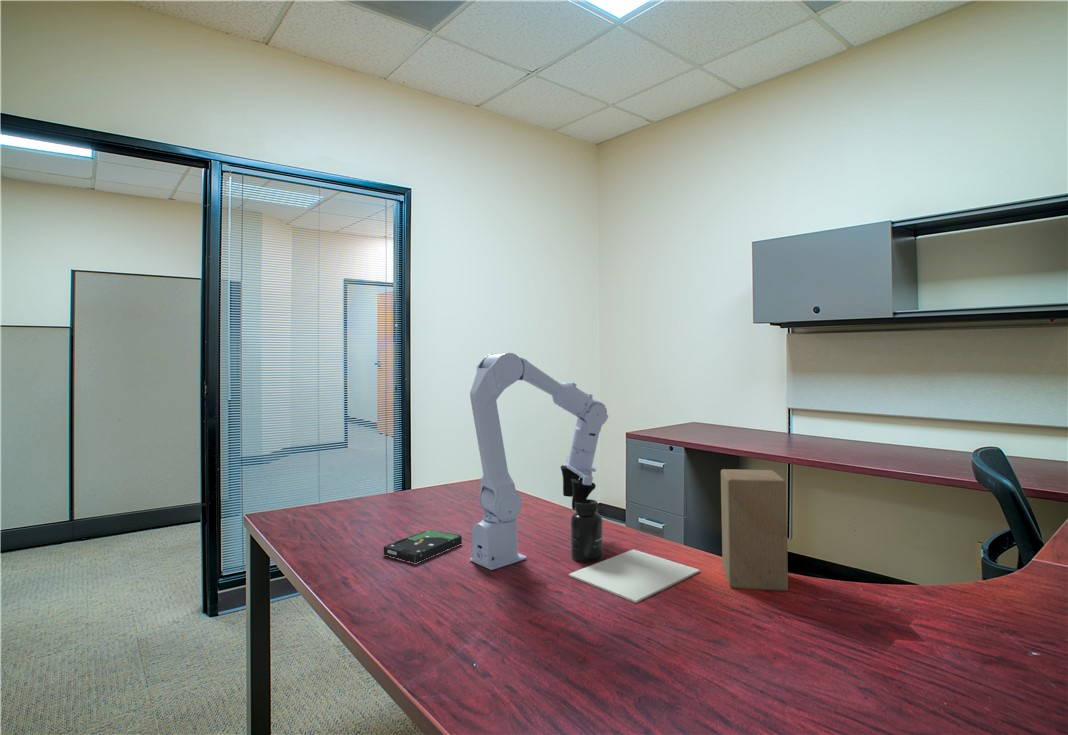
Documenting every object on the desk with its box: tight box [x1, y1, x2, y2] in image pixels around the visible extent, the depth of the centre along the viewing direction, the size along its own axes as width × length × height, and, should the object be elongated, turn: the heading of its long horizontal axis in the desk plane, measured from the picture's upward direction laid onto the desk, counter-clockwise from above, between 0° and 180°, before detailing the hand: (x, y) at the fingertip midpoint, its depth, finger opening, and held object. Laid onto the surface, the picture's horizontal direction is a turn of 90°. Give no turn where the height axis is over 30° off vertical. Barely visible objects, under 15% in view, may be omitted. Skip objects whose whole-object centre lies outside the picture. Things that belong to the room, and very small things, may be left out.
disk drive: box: [383, 528, 463, 563], centre depth 123 cm, size 10×3×15 cm
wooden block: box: [720, 468, 789, 592], centre depth 103 cm, size 10×10×20 cm
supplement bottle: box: [570, 498, 604, 563], centre depth 116 cm, size 7×7×12 cm
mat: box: [568, 548, 701, 604], centre depth 106 cm, size 20×16×1 cm
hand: (571, 502), depth 130 cm, fingers open, 7 cm apart
